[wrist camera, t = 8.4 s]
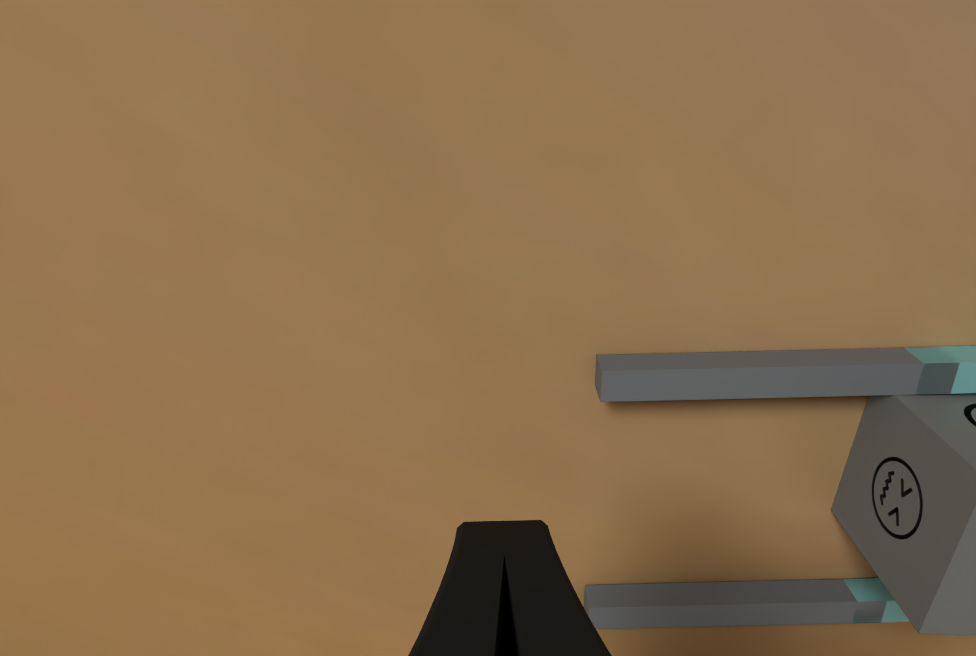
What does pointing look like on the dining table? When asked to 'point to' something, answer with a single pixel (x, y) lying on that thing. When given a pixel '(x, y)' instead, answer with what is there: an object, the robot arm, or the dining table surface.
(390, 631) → the dining table surface
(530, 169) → the dining table surface
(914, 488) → the dice cube
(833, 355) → the guide lane
